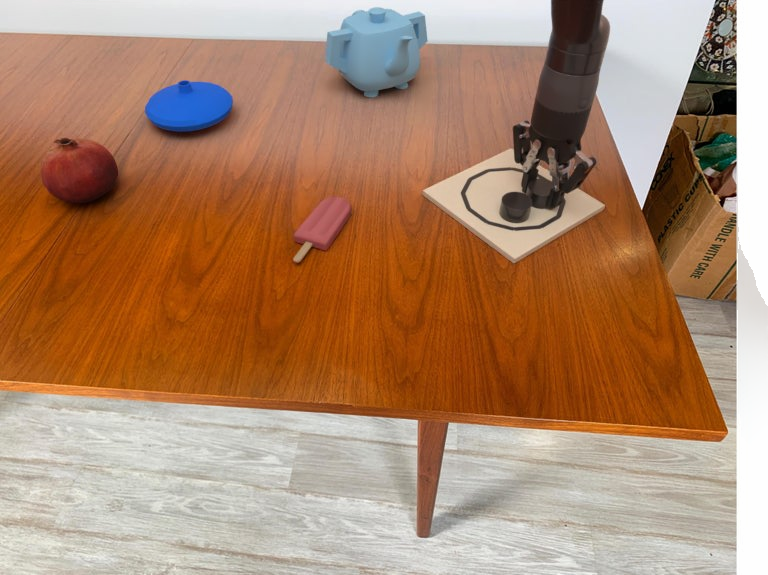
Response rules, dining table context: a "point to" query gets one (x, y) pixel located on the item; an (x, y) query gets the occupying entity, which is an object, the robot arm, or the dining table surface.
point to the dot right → (539, 192)
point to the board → (483, 199)
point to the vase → (189, 106)
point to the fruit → (78, 170)
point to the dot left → (515, 207)
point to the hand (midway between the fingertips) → (539, 198)
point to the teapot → (377, 49)
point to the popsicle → (322, 225)
